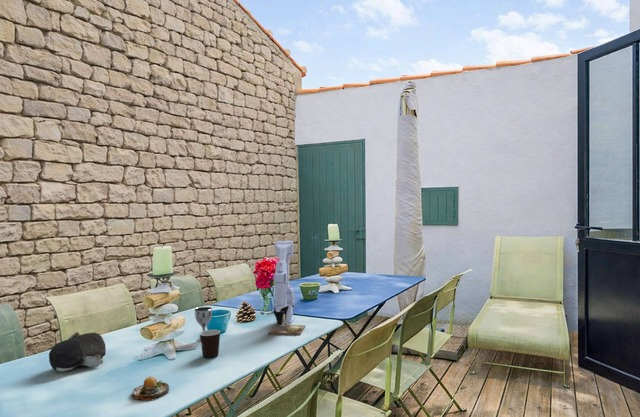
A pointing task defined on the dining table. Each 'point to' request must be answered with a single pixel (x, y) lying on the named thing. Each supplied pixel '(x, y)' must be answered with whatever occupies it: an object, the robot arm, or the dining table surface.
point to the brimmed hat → (150, 389)
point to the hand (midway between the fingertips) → (281, 322)
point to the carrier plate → (286, 329)
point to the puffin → (78, 352)
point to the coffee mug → (210, 343)
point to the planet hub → (283, 321)
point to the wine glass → (203, 317)
